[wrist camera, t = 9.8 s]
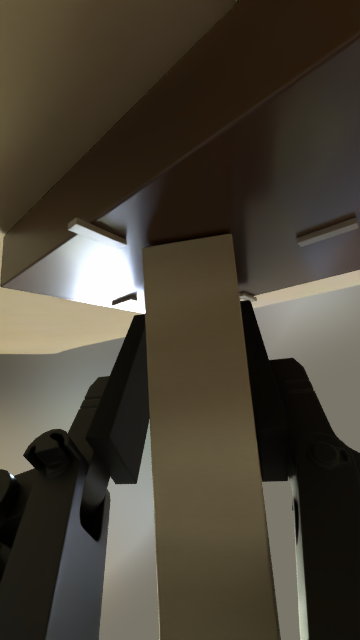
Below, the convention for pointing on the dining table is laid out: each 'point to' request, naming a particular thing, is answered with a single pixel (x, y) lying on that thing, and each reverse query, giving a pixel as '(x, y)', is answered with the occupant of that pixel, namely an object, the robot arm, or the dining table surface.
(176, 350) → the beige flat block
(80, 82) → the dining table surface
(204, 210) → the walnut base
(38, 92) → the dining table surface
